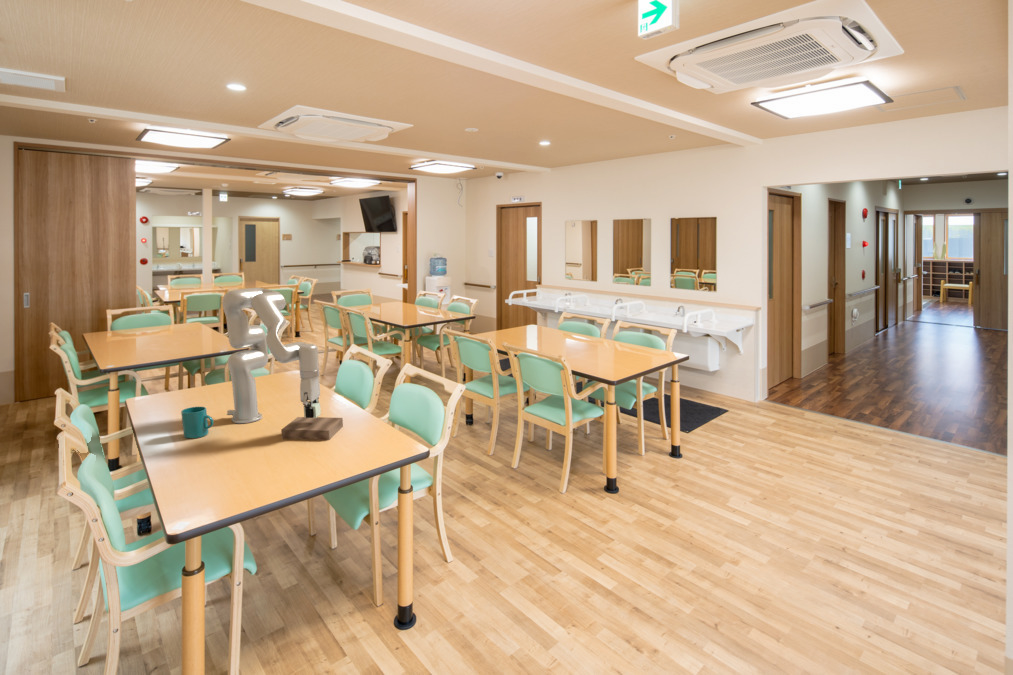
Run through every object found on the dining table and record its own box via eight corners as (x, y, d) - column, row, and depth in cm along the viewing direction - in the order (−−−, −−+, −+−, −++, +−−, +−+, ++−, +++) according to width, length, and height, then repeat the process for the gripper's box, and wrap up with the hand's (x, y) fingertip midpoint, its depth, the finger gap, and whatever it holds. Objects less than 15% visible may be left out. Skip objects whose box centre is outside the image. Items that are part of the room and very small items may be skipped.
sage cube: (304, 417, 224) (303, 406, 223) (309, 414, 229) (308, 402, 228) (316, 417, 224) (315, 406, 223) (320, 414, 229) (320, 402, 228)
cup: (208, 439, 220) (206, 413, 218) (179, 439, 220) (176, 413, 218) (220, 431, 229) (217, 406, 227) (191, 431, 229) (189, 406, 226)
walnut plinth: (281, 438, 221) (281, 429, 220) (298, 425, 236) (297, 416, 236) (329, 439, 220) (328, 430, 219) (342, 426, 235) (342, 417, 235)
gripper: (309, 368, 232) (312, 409, 235) (291, 378, 215) (295, 422, 218) (326, 369, 232) (328, 409, 235) (310, 379, 215) (313, 422, 218)
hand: (312, 414), depth 227 cm, fingers closed on sage cube, 5 cm apart
